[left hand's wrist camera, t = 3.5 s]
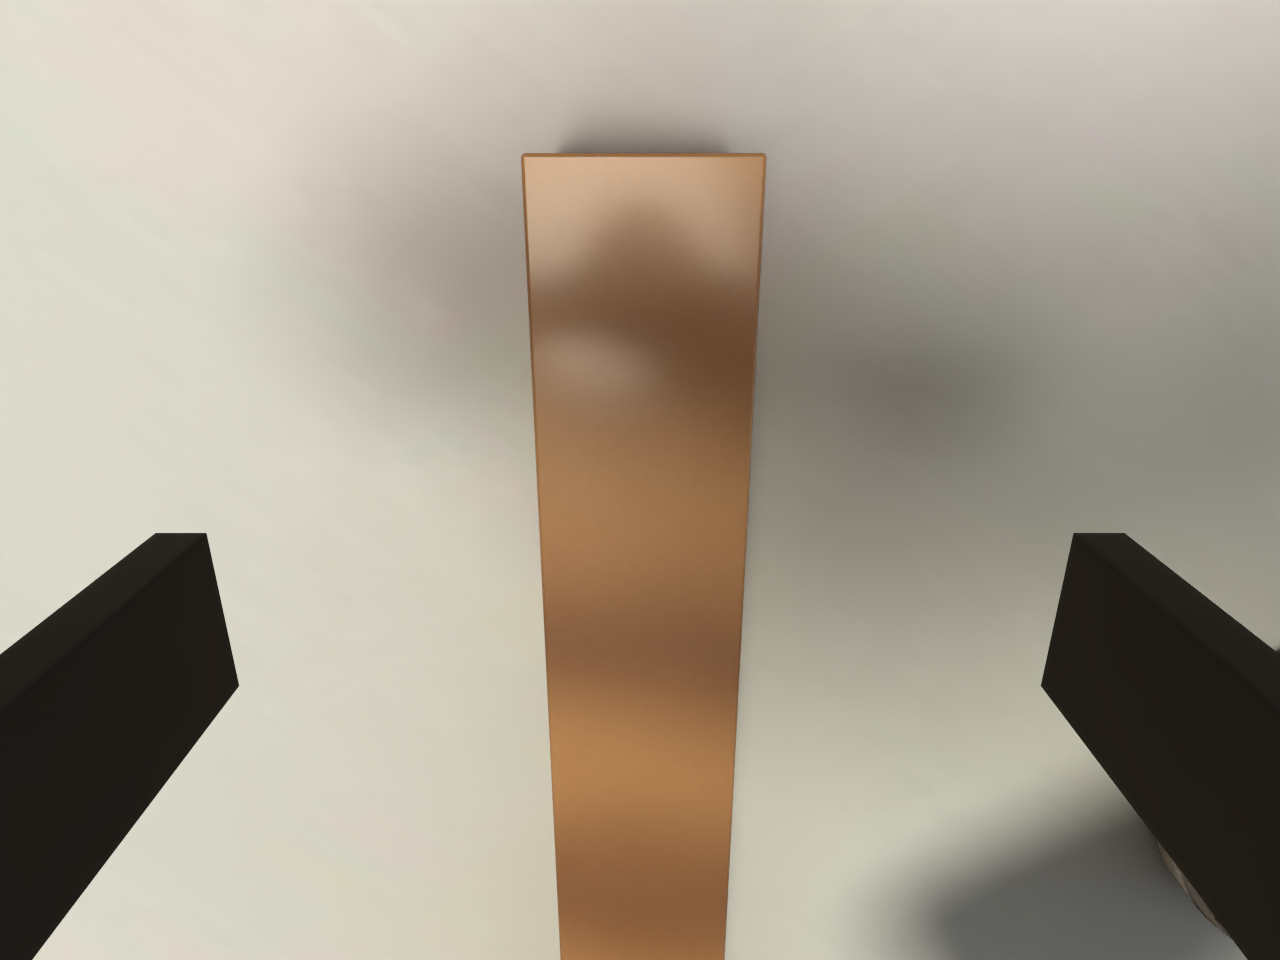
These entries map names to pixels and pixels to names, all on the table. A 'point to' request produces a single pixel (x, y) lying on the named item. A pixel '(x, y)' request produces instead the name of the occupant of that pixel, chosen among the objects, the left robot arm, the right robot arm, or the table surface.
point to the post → (643, 529)
